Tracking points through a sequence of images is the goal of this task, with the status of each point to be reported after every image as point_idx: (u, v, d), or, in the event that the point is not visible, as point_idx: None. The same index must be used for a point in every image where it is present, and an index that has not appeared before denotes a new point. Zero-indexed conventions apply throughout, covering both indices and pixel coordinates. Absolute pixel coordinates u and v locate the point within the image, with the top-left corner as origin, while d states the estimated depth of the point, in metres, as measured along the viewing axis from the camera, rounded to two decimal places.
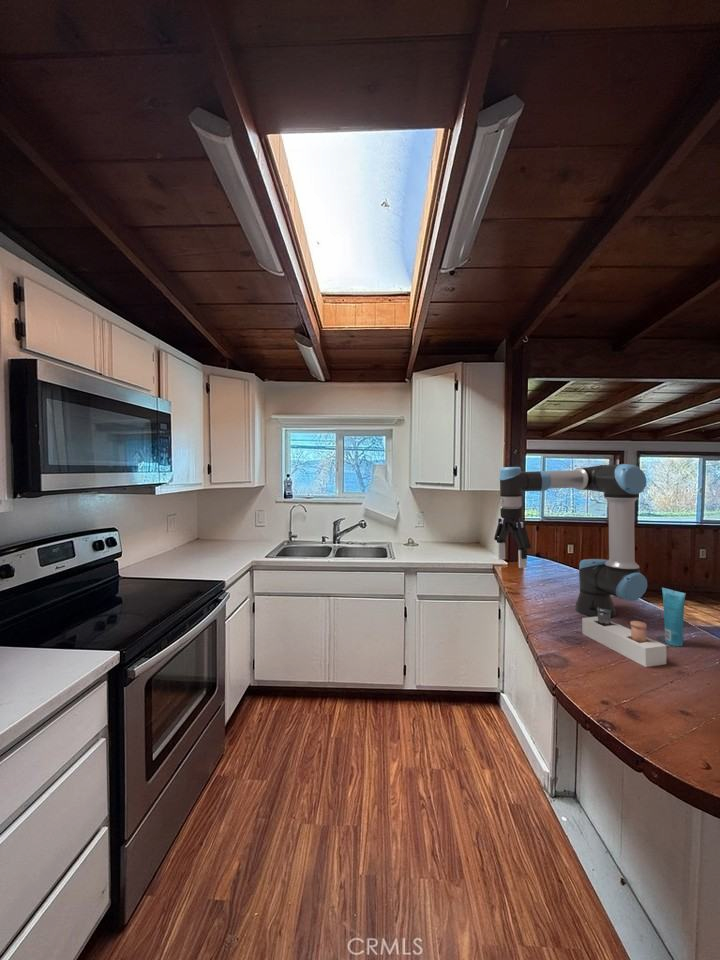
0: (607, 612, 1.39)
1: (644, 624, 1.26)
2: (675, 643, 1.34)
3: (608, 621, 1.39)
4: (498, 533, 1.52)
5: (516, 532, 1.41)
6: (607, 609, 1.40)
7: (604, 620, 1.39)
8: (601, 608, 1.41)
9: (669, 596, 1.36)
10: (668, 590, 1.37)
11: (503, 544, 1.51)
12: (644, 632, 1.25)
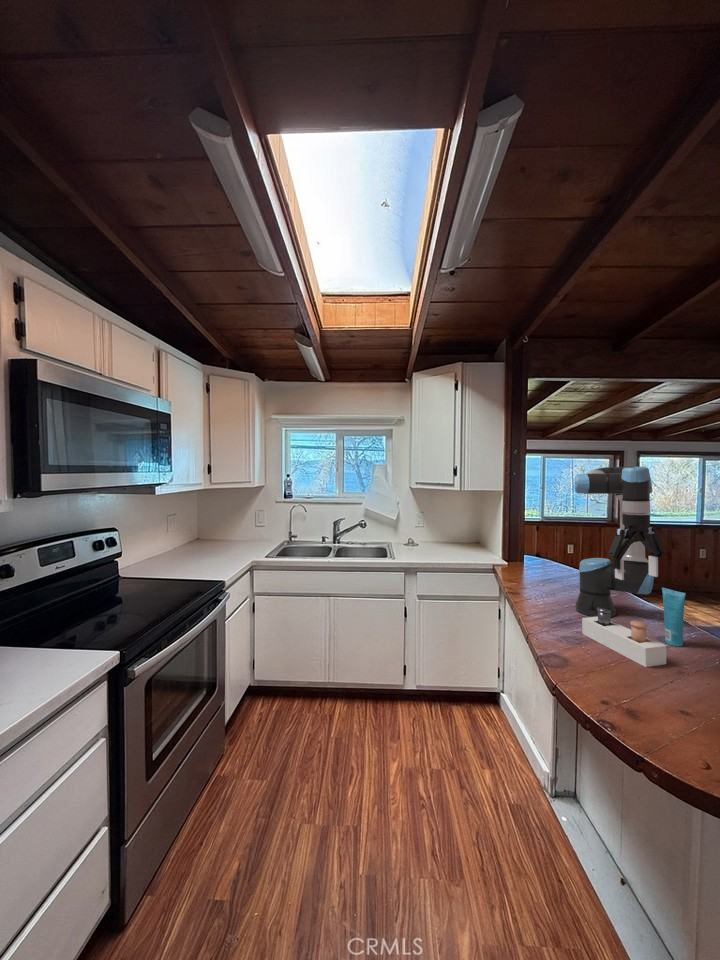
0: (607, 612, 1.39)
1: (644, 624, 1.26)
2: (675, 643, 1.34)
3: (608, 621, 1.39)
4: (653, 545, 1.29)
5: (624, 540, 1.26)
6: (607, 609, 1.40)
7: (604, 620, 1.39)
8: (601, 608, 1.41)
9: (669, 596, 1.36)
10: (668, 590, 1.37)
11: (653, 558, 1.27)
12: (644, 632, 1.25)
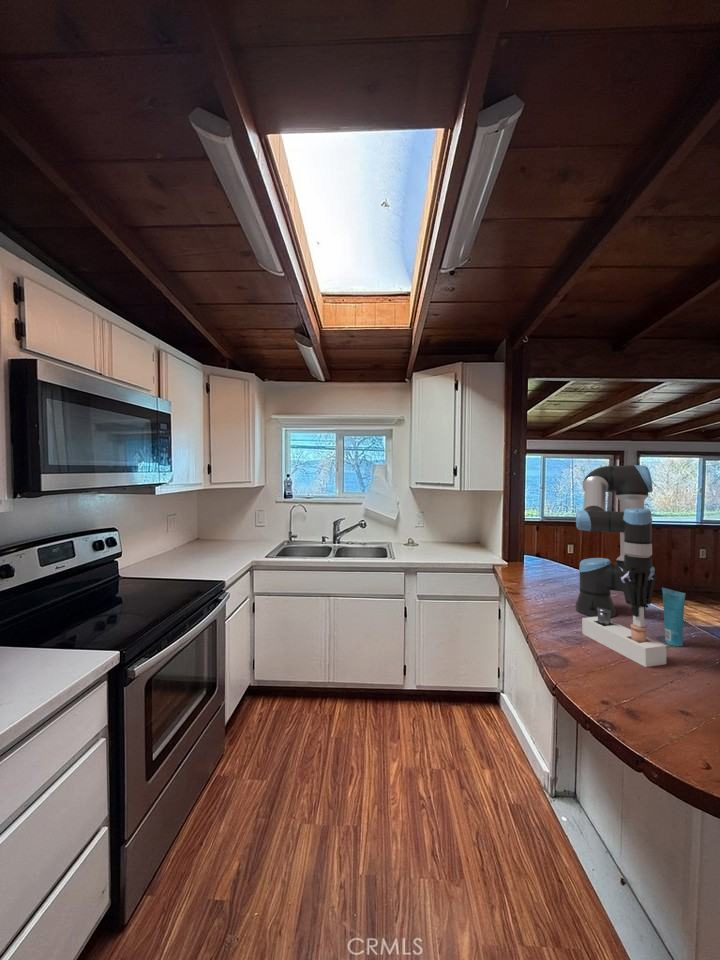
0: (607, 612, 1.39)
1: (644, 627, 1.26)
2: (675, 643, 1.34)
3: (608, 621, 1.39)
4: None
5: (632, 585, 1.27)
6: (607, 609, 1.40)
7: (604, 620, 1.39)
8: (601, 608, 1.41)
9: (669, 596, 1.36)
10: (668, 590, 1.37)
11: None
12: (644, 634, 1.25)
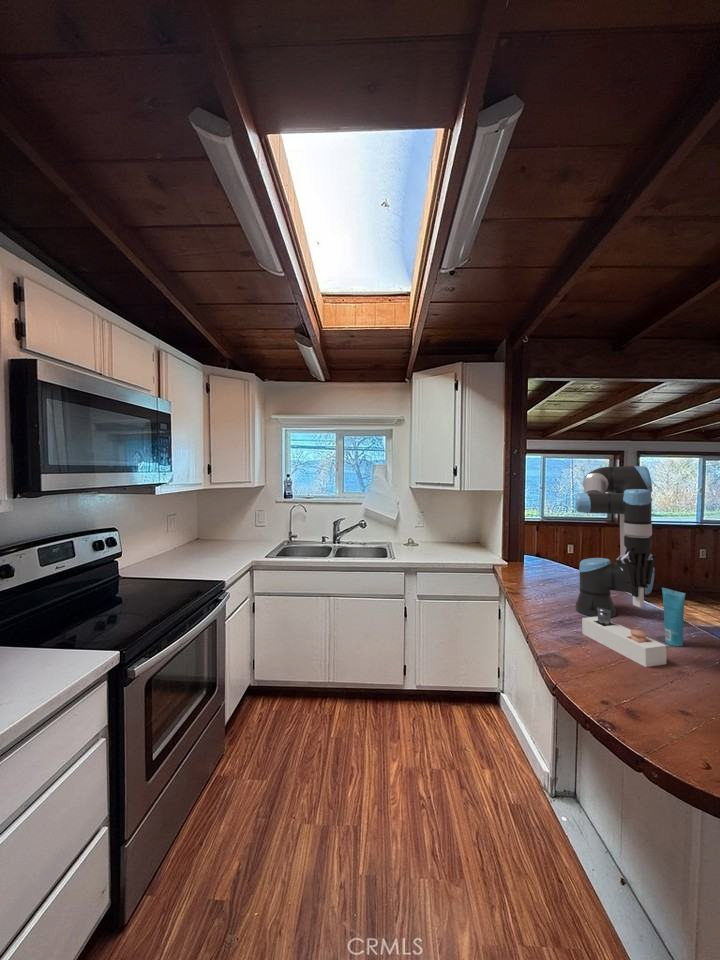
0: (607, 612, 1.39)
1: (644, 633, 1.26)
2: (675, 643, 1.34)
3: (608, 621, 1.39)
4: None
5: (631, 566, 1.27)
6: (607, 609, 1.40)
7: (604, 620, 1.39)
8: (601, 608, 1.41)
9: (669, 596, 1.36)
10: (668, 590, 1.37)
11: None
12: (644, 640, 1.25)
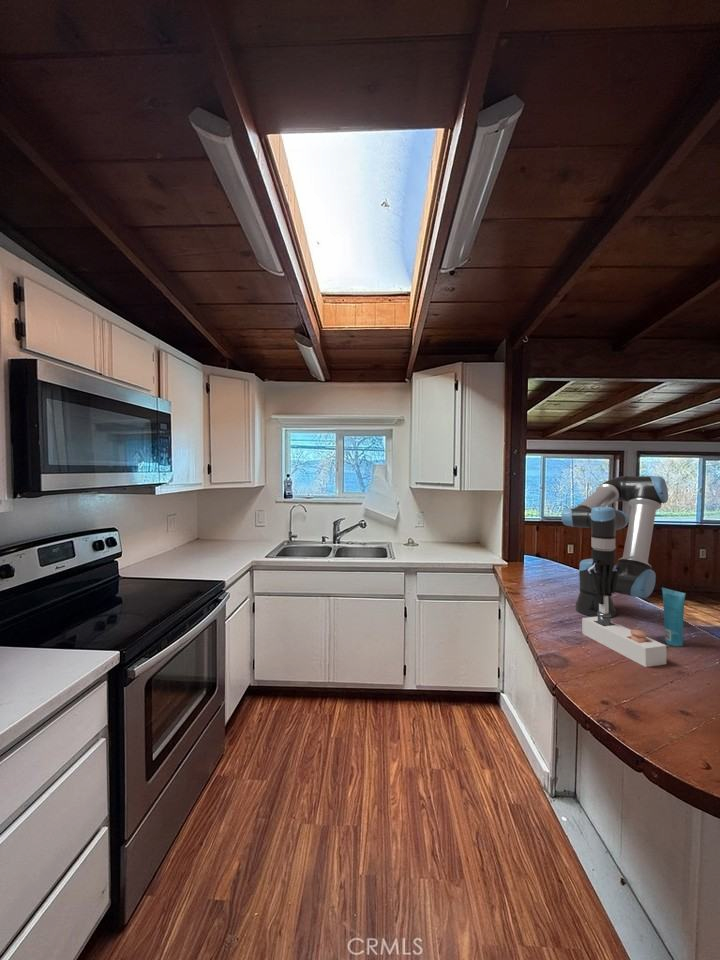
0: (607, 616, 1.39)
1: (644, 633, 1.26)
2: (675, 643, 1.34)
3: (608, 625, 1.39)
4: None
5: (597, 576, 1.41)
6: None
7: (604, 624, 1.39)
8: (601, 612, 1.41)
9: (669, 596, 1.36)
10: (668, 590, 1.37)
11: None
12: (644, 640, 1.25)
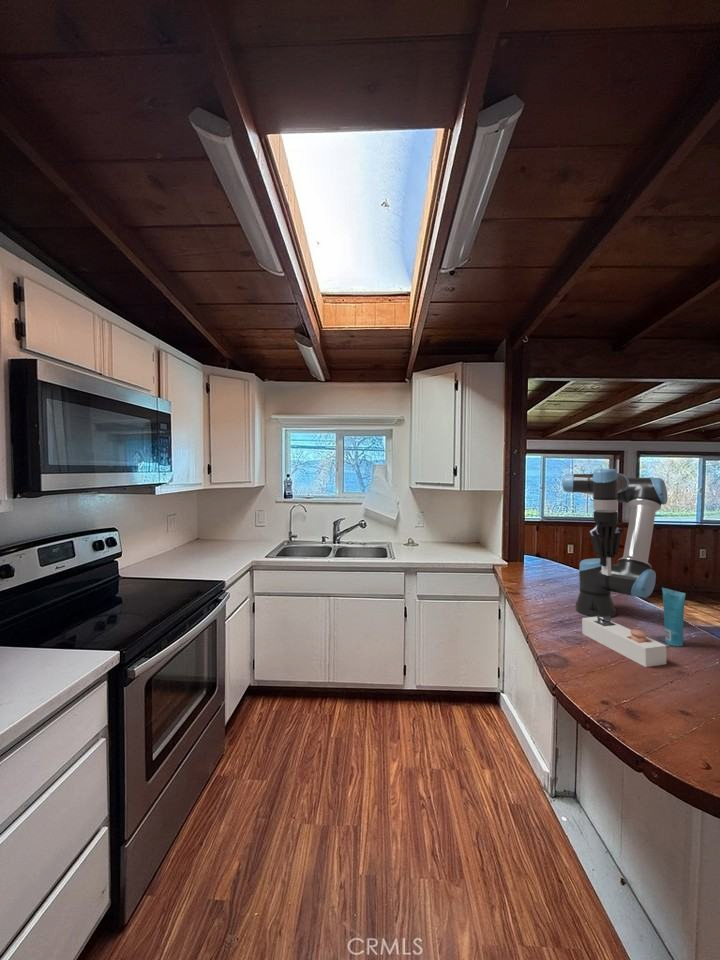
0: (607, 620, 1.39)
1: (644, 633, 1.26)
2: (675, 643, 1.34)
3: None
4: None
5: (600, 538, 1.40)
6: (607, 617, 1.40)
7: None
8: (601, 616, 1.41)
9: (669, 596, 1.36)
10: (668, 590, 1.37)
11: None
12: (644, 640, 1.25)
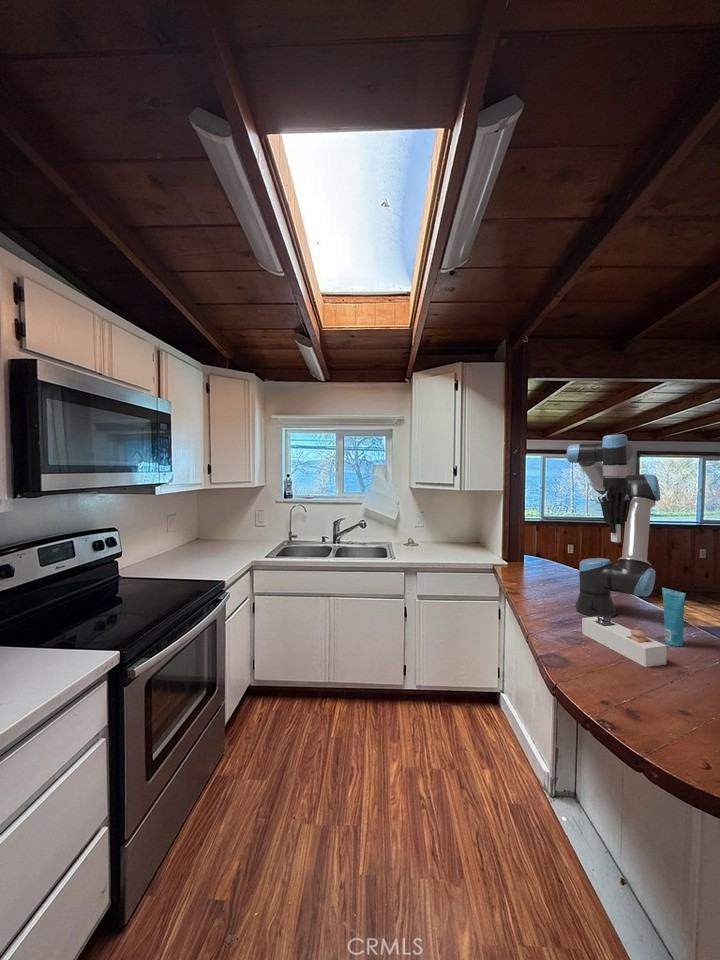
0: (607, 620, 1.39)
1: (644, 633, 1.26)
2: (675, 643, 1.34)
3: None
4: None
5: (609, 505, 1.39)
6: (607, 617, 1.40)
7: None
8: (601, 616, 1.41)
9: (669, 596, 1.36)
10: (668, 590, 1.37)
11: None
12: (644, 640, 1.25)
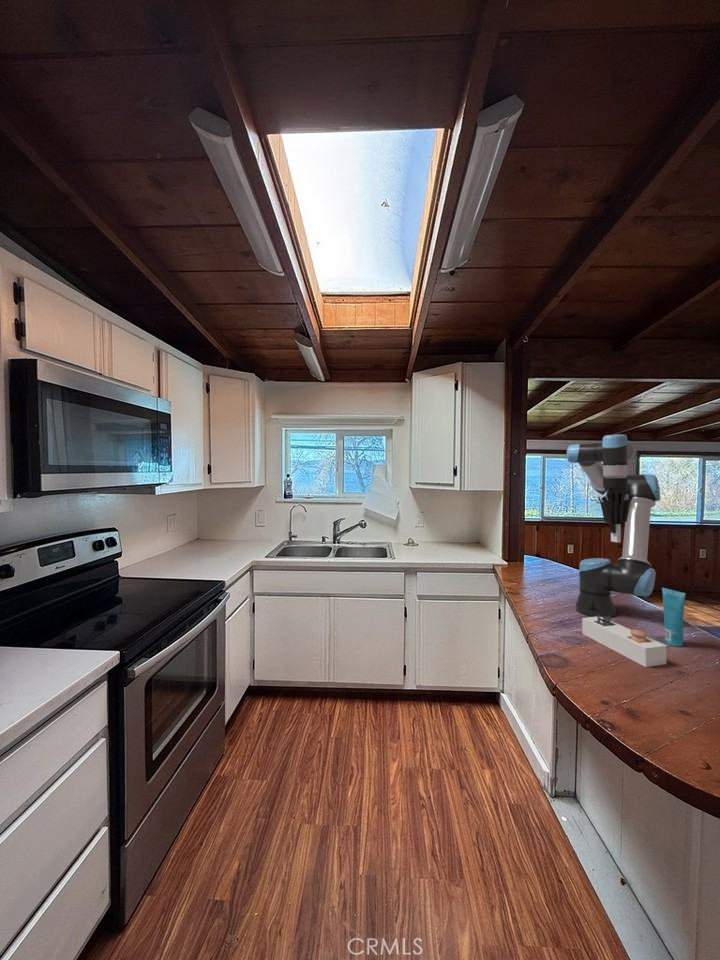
0: (607, 620, 1.39)
1: (644, 633, 1.26)
2: (675, 643, 1.34)
3: None
4: None
5: (609, 505, 1.39)
6: (607, 617, 1.40)
7: None
8: (601, 616, 1.41)
9: (669, 596, 1.36)
10: (668, 590, 1.37)
11: None
12: (644, 640, 1.25)
